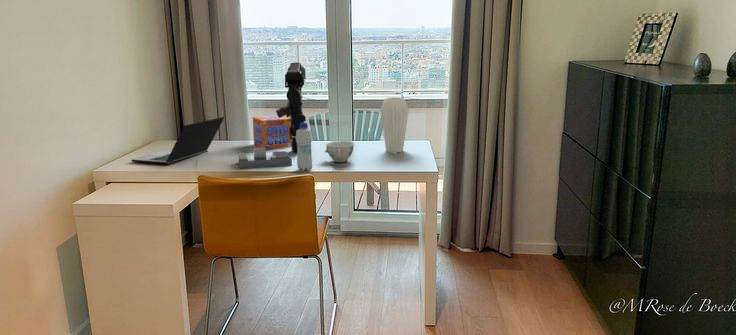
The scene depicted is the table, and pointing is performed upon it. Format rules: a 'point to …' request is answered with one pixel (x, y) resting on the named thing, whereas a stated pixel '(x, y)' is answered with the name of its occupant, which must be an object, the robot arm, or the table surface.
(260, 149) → the block
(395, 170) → the table surface
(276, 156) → the panel
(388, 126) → the vase
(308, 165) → the bottle
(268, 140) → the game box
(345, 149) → the teacup
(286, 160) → the vise
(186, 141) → the laptop
